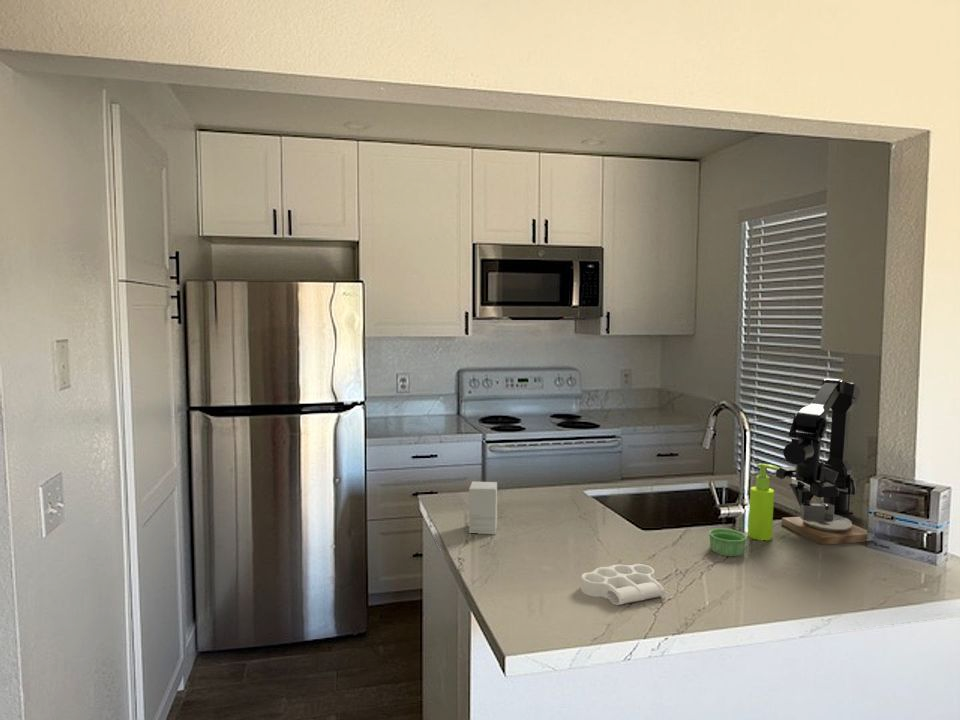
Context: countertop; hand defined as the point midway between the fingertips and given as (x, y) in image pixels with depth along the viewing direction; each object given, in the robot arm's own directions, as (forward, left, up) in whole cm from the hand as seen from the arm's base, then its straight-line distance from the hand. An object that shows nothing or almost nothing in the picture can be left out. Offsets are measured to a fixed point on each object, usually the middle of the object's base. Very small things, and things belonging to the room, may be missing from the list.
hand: (803, 510), depth 185 cm
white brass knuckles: (+66, +27, -6) cm, 72 cm away
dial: (-4, +4, -3) cm, 6 cm away
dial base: (-4, +4, -5) cm, 8 cm away
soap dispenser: (+16, +4, -5) cm, 17 cm away
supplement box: (+89, -15, -5) cm, 90 cm away
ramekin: (+31, +11, -6) cm, 33 cm away
